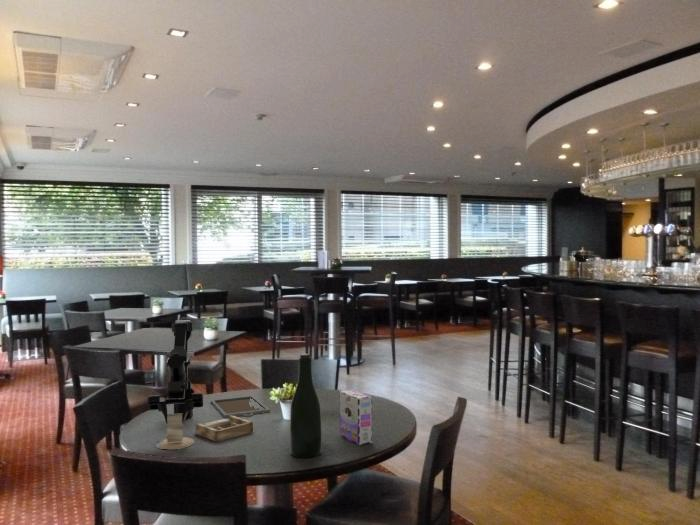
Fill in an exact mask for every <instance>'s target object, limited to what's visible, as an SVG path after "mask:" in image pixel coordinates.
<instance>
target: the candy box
mask: <svg viewBox="0 0 700 525" xmlns="http://www.w3.org/2000/svg"><path fill="white" fill-rule="evenodd" d="M339 433H340V434H339V436H341V437H343V438H344V439H346V440H348V441H350V442H352V443H354V444H355V445H358V446H361V445H362V446H363V445H367V444H372V443H373V397H372V396H371V395H368V394H366V393H362V392H361V391H357V390H355V389H352V388H351V389H345V390H344V389H343V390H339Z"/></svg>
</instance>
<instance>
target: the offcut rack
mask: <svg viewBox="0 0 700 525" xmlns="http://www.w3.org/2000/svg"><path fill="white" fill-rule="evenodd" d="M253 432H254V422H253V421H251V420H247V419H244V418H242V417H240V416H232V415H230V416H229V417H228V418H224V419H218V420H214V421H211V422H206V423H200V422H198V423H195V434H196V433H197V434H196V435H199V436H201V435H202V436H201V437H204V438H207V439H208V440H211V441H214V442H216V443H217V442H220V441H225V440H228V439H231V438H235V437H239V436H243V435H247V434H250V433H253Z"/></svg>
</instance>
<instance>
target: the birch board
mask: <svg viewBox="0 0 700 525" xmlns="http://www.w3.org/2000/svg"><path fill="white" fill-rule="evenodd" d="M182 415H183V413H178V414H174V413H167V424H166V428H167V429H166V434H167V435H166V436H167V437H166V439H167V442H180V441H183V437H184V422H183V423H182Z"/></svg>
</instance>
